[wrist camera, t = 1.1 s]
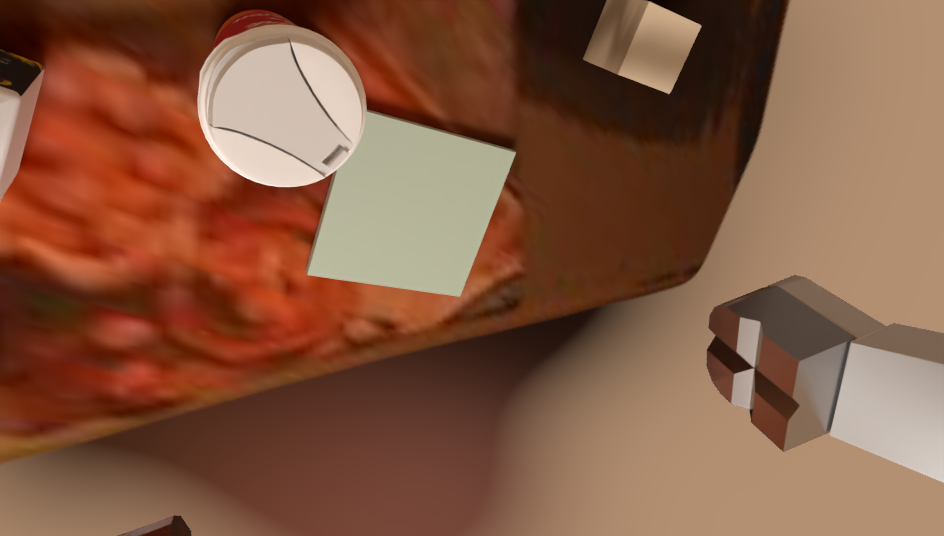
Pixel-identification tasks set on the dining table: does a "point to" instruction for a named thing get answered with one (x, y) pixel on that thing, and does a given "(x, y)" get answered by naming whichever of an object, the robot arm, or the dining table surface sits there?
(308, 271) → the board
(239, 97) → the paper cup
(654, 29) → the cube
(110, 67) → the dining table surface
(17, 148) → the medicine bottle
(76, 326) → the dining table surface
